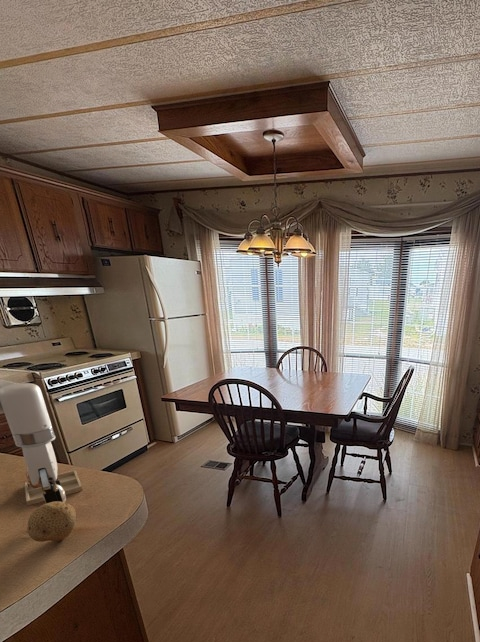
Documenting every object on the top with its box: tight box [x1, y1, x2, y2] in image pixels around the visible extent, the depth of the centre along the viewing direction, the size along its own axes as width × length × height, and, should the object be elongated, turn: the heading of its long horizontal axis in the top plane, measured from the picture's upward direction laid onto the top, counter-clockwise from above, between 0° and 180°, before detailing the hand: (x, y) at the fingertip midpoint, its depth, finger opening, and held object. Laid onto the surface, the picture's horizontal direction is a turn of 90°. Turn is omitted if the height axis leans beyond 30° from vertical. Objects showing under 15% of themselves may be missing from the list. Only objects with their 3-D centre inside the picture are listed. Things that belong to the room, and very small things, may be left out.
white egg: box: [43, 484, 67, 504], centre depth 88 cm, size 4×4×6 cm
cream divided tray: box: [23, 469, 83, 506], centre depth 101 cm, size 13×13×2 cm
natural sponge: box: [27, 501, 77, 543], centre depth 79 cm, size 9×9×10 cm
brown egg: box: [25, 471, 41, 489], centre depth 100 cm, size 4×4×6 cm
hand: (55, 499), depth 89 cm, fingers closed on white egg, 4 cm apart
